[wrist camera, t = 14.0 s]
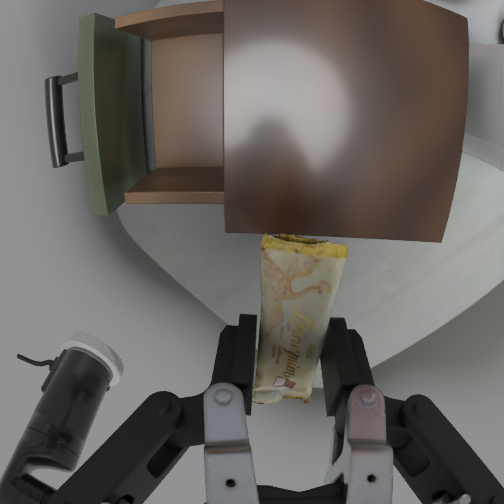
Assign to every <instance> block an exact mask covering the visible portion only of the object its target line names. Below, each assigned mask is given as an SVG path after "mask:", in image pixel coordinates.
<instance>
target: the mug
mask: <svg viewBox="0 0 504 504" xmlns="http://www.w3.org/2000/svg"><path fill="white" fill-rule="evenodd" d="M462 152H465V153H467V154H469V155H471V156H473V157H476V158H478V159H480V160H482V161H484V162H486V163H488V164H490V165H492V166H494V167H496V168H498V169H500V170H502V171H504V44H496V45H480V46H469V85H468V102H467V114H466V124H465V132H464V140H463V147H462Z"/></svg>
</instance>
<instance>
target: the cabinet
mask: <svg viewBox="0 0 504 504" xmlns="http://www.w3.org/2000/svg"><path fill="white" fill-rule="evenodd" d="M468 85H469V37H468V20H467V18H466V17H464V16H461V15H459V14H457V13H454V12H452V11H450V10H447V9H445V8H442V7H440V6H437V5H434V4H432V3H429V2H426V1H423V0H223V169H224V209H225V232H226V233H253V234H265V233H267V234H281V233H282V234H286V235H292V234H294V235H306V236H328V237H349V238H369V239H388V240H405V241H422V242H438V243H441V242H442V239H443V235H444V232H445V228H446V224H447V221H448V217H449V213H450V209H451V205H452V200H453V196H454V191H455V187H456V182H457V177H458V171H459V166H460V160H461V154H462V147H463V140H464V132H465V124H466V114H467V102H468Z"/></svg>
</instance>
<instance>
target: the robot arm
mask: <svg viewBox="0 0 504 504" xmlns="http://www.w3.org/2000/svg"><path fill="white" fill-rule="evenodd" d="M256 327H257V315H251V314H240V317H239V325H238V326H232V325H227V326H226V327H225V328H224V329H223V331H222V332H221V333H220V338H219V343H218V349H217V354H216V359H215V364H214V370H213V375H212V380H211V384H210V386H209V387H208V388H207V389H206V390H205V391H204V392H203V393H201V394H199V395H196V396H192V397H186V398H179V397H178V396H176V395H175V394H173V393H171V392H167V391H160V392H156V393H153V394H152V395H150V396H149V397H148V398H147V399H146V400H145V401H144V402H143V403H142V404H141V405H140V406H139V407H138V408H137V409H136V410H135V411H134V412H133V414H132V415H131V416H130V417H129V418H128V419H127V420H126V421H125V422H124V423H123V424H122V425H121V426H120V427H119V428H118V429H117V430H116V431H115V432H114V433H113V434H112V435H111V436H110V437H109V438H108V439H107V441H106V442H105V443H104V444H103V445H102V446H101V447H100V448H99V449H98V450H97V451H96V452H95V453H94V454H93V455H92V456H91V457H90V458H89V459H88V460H87V461H86V462H85V463H84V464H83V465H82V466H81V467H80V468H79V469H78V470H77V471H76V472H75V473H74V474H73V475H72V476H71V477H70V478H69V479H68V480H67V481H66V482H65V483H64V484H63V485H62V486H61V487H60V488H59V489H58V490H57V489H55V488H53V487H51V486H50V485H48V484H46V483H44V482H42V481H41V480H39V479H37V478H35V477H34V476H32V475H30V474H31V473H32V471H34V470H36V469H53V470H58V471H62V472H73V471H74V470H75V468H76V466H77V463H78V461H79V458H80V455H81V453H82V450H83V447H84V445H85V442H86V439H87V437H88V434H89V431H90V429H91V426H92V424H93V421H94V419H95V416H96V414H97V411H98V409H99V407H100V404H101V402H102V400H103V397H104V395H105V393H106V391H108V390H109V388H110V386H109V383H110V382H111V380H112V378H113V373H112V371H111V369H110V367H109V366H108V365H107V364H106V363H105V362H104V361H103V360H102V359H101V358H100V357H98V356H97V355H96V354H94V353H92V352H90V351H88V350H86V349H83V348H80V347H71V348H69V349H68V350H66V349H64V350H63V351H62V353H61V354H60V356H59V358H58V357H56V358H55V360H54V361H53V360H46V361H42V362H38V361H34V360H31V359H28V358H26V357H24V356H22V355H20V354H18V355H17V358H19V359H21V360H23V361H25V362H27V363H30V364H32V365H35V366H45V365H49V370H50V373H49V375H48V377H47V379H46V380H45V382H44V384H43V386H42V388H41V390H42V392H43V395H42V397H41V399H40V401H39V403H38V405H37V407H36V409H35V411H34V413H33V415H32V417H31V419H30V421H29V423H28V425H27V427H26V429H25V431H24V433H23V435H22V437H21V439H20V441H19V443H18V444H17V446H16V449H15V451H14V453H13V455H12V457H11V459H10V461H9V463H8V466H7V467H6V469H5V471H4V473H3V475H2V477H1V480H0V504H143V503H144V501H145V500H146V499H147V498H148V497H149V496H150V494H151V493H152V492H153V491H154V490H155V489H156V487H157V486H158V485H159V484H160V483H161V481H162V480H163V479H164V478H165V477H166V475H167V474H168V473H169V472H170V470H171V469H172V468H173V467H174V465H175V464H176V463H177V462H178V460H179V459H180V458H181V457H182V456H183V454H184V453H185V452H186V451H187V449H188V448H189V447H190V446H195V445H201V444H205V447H204V464H205V465H204V467H205V484H206V499H207V502H205V503H204V504H392V493H393V492H392V491H393V464H394V466H395V467H396V468H397V470H398V471H399V472H400V474H401V475H402V477H403V478H404V479H405V481H406V482H407V484H408V485H409V486H410V488H411V489H412V490H413V492H414V493H415V494H416V496H417V497H418V499H419V500H420V501H421V503H422V504H504V488H503V487H502V485H501V484H500V483H499V482H498V480H497V479H496V478H495V477H494V475H493V474H492V473H491V472H490V470H489V469H488V468H487V467H486V465H485V464H484V463H483V462H482V460H481V459H480V458H479V457H478V456H477V454H476V453H475V452H474V451H473V449H472V448H471V447H470V446H469V445H468V443H467V442H466V441H465V440H464V439H463V437H462V436H461V435H460V434H459V433H458V431H457V430H456V429H455V428H454V427H453V425H452V424H451V423H450V422H449V421H448V420H447V418H446V417H445V416H444V415H443V414H442V413H441V411H440V410H439V409H438V408H437V407H436V406H435V404H434V403H433V402H432V401H431V400H430V399H429V398H428V397H426V396H424V395H418V394H417V395H412V396H410V397H409V398H408V399H407V400H406V401H402V400H397V399H392V398H388V397H386V396H384V395H383V393H382V392H381V390H380V389H378V388H377V387H375V385H374V381H373V377H372V374H371V370H370V366H369V362H368V358H367V357H366V351H365V349H364V344H363V340H362V338H361V336H360V335H359V334H358V333H357V331H356V330H355V329H347V326H346V322H345V319H344V318H333V317H330V320H329V324H328V329H327V333H326V336H325V340H324V345H323V348H322V353H321V356H320V361H321V369H322V377H323V385H324V393H325V401H326V411H327V416H335V425H334V427H333V433H332V443H331V452H330V460H329V467H328V471H327V473H326V476H325V480H324V485H323V486H320V487H317V488H313V489H310V490H306V491H302V492H296V491H291V490H286V489H281V488H277V487H273V486H267V485H265V486H264V485H257V484H256V478H255V471H254V464H253V458H252V451H251V446H250V444H249V439H248V430H247V423H246V415H251V406H252V392H253V378H254V362H255V347H256ZM108 386H109V387H108Z"/></svg>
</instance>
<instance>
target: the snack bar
mask: <svg viewBox="0 0 504 504" xmlns="http://www.w3.org/2000/svg"><path fill="white" fill-rule="evenodd" d="M347 253H348V248H347V246H346V245H338V244H336V243H330V242H329V241H328V240H323V241H318V240H317V239H313V238H312V239H307V238H304V237H299V236H295V235H294V234H292V235H289V236H288V235H286V234H282V233H281V234H279V236H278V237H277V236H274V237H273V236H269V234H267V233H265V235H264V236H263V237H262V245H261V301H262V302H261V316H260V317H261V318H260V329H259V342H258V358H257V370H256V371H257V372H256V379H255V384H254V388H253V399H254V401H253V403H256V404H264V403H274V402H278V401H280V400H281V399H285V398H287V399H291V398H295V397H297V398H295V399H303V398H306V399H308V400H306V401H303V402H304V403H307V404H308V403H310V401H311V399H309V397H310V396H311V395H312V394H311V391H312V385H313V380H314V377H315V372H316V368H317V365H318V362H319V359H320V356H321V353H322V348H323V345H324V340H325V336H326V333H327V329H328V324H329V320H330V317H331V314H332V310H333V307H334V303H335V298H336V294H337V291H338V288H339V285H340V282H341V277H342V274H343V271H344V266H345V262H346V258H347ZM254 391H255V393H254Z"/></svg>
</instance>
